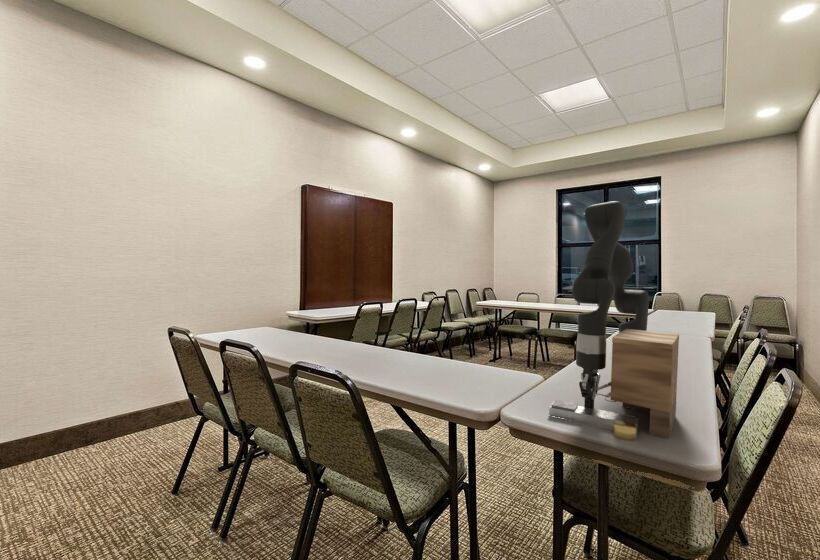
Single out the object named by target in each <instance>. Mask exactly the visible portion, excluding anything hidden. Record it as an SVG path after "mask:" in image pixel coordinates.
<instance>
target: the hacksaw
mask: <svg viewBox="0 0 820 560" xmlns="http://www.w3.org/2000/svg"><path fill="white" fill-rule="evenodd" d="M609 386H611V381H609V382H607V383H605V384H603V385H600V386H598V390H597V391H599V390H600V391H601V390H602V389H604V388H607V387H609ZM597 395H598V396H602V397H604V400H605V401H607V402H612V403H616V402H617V403H618V401H613V400H608V399H606V398H610V397H611V391H610V392H608V393H607V394H602V393H597V394H596V396H597Z"/></svg>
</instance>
